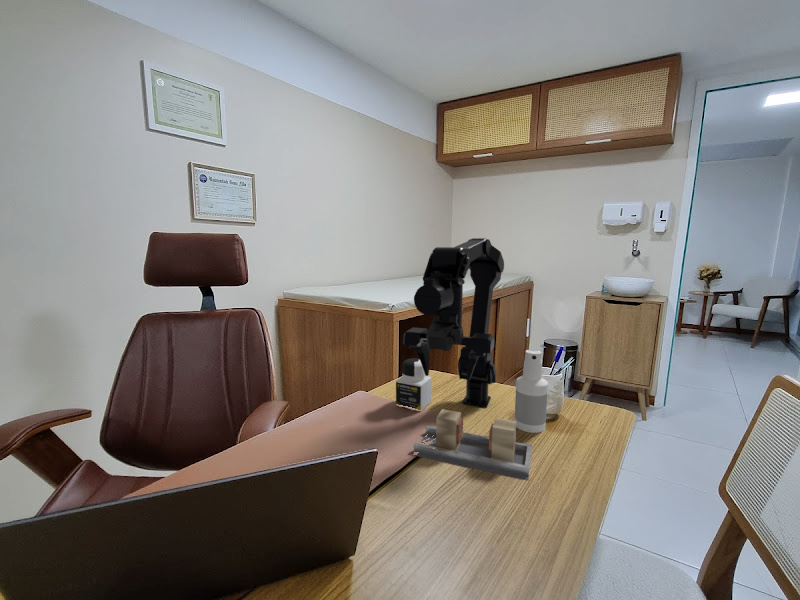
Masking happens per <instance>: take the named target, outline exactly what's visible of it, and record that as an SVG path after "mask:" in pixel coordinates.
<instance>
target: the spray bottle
mask: <svg viewBox="0 0 800 600" xmlns="http://www.w3.org/2000/svg"><path fill="white" fill-rule="evenodd" d="M542 353H543V352H542V351H541V350H530V349H526V350H525V356H524V359H523V369H522V375H521V376H519V377H517V378H516V381H515V400H514V401H515V403H514V420H513V421H516V429H518V430H520V431H523V432H526V433H531V434H533V433H534V434H538V433H541V432H544V431H545V430H546V424H547V421H546V420H547V407H548V391H549V382H548V381H547V380H546V379H545V378H543V360H542V355H543V354H542Z"/></svg>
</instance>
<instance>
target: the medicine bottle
mask: <svg viewBox="0 0 800 600" xmlns="http://www.w3.org/2000/svg"><path fill="white" fill-rule="evenodd" d="M401 364H402V365H401V366H402V372H401V373H402V376H401V377H400V378H398V379H397V380H396V381H395V405H396V404H398V405H403V406H408V407H412V408H415V409H418V410H421V409H423V408H424V409H426V407H428V405H429V404H430V403H431V402H432V379H433V378H432V377H431V376H429V375H428V376H426V375H425V372H424V370H423V367H422V364H421V361H420V359H419V358H414V357H412V358H407V359H404V361H402V363H401ZM424 409H423V410H424Z"/></svg>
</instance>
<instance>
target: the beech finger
mask: <svg viewBox="0 0 800 600" xmlns="http://www.w3.org/2000/svg"><path fill="white" fill-rule="evenodd" d="M461 415H462V412H461V411H454V410H447V409H445V408H441V409H440V412H439V413H438V414H437V416H436V421H435V422H436V426H435V427H436V447H438V448H443V449H448V450H453V451H457V450H458V447H459V445H460V441H461V439H462V437H463V432H464V418H463V417H462V416H461Z"/></svg>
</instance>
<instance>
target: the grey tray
mask: <svg viewBox="0 0 800 600" xmlns="http://www.w3.org/2000/svg"><path fill="white" fill-rule="evenodd" d="M425 434H430V435H435V436H436V426H431V425H426V426H425ZM461 441H466V442H471V443H477V444H482V445H487V446H489V436H485V435H479V434H474V433H468V432H464V431H463V437H462V439H461ZM419 443H420V442H419ZM419 443H418V442H414V444H413V452H414V451H415V452H419V453H422V454H427V455H432V456H436V457H441V458H446V459H450V460H455V461H460V462H464V463H469V464H474V465H478V466H483V467H488V468H493V469H497V470H502V471H507V472H511V473H516V474H521V475H525V476H529V477H530V468H531V459H532V450H533V449H532V447H533V445H532V444H528V443H524V442H523V443H522V442H518V441H515V451H518V452H523V453H526V460H525V465H521V464H517V463H512V462H507V461H502V460H497V459H492V458H487V457H482V456H477V455H472V454H468V453H463V452H458V451H453V450H448V449H443V448H438V447H433V446H428V445H423V444H419Z"/></svg>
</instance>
